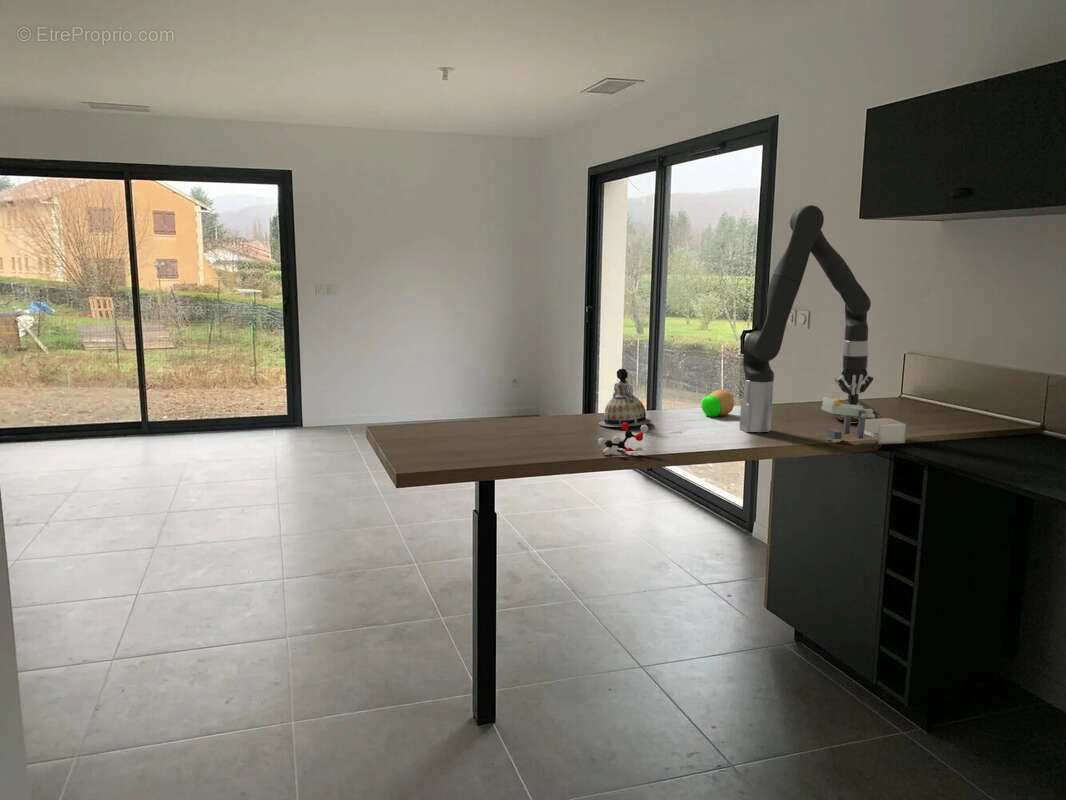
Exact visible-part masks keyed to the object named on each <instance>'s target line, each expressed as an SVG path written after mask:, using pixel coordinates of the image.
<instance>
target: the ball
mask: <svg viewBox="0 0 1066 800" xmlns="http://www.w3.org/2000/svg"><path fill="white" fill-rule="evenodd" d="M832 400H835V401H836V405H835V406H841V403H840V401H841V400H839V399H838V398H833V399H832Z"/></svg>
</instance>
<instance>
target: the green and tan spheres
mask: <svg viewBox="0 0 1066 800" xmlns="http://www.w3.org/2000/svg"><path fill="white" fill-rule="evenodd" d="M700 403H701V410H702V412H703V413H704V414H705V415H706V417H707V416H708V417H710V418H715V417H723V416H727V415H728V414H730V413H731V412H732V411H733V410H734V407H735V398H734V396H733V395H732V394H731V393H730V391H727V389H726V390H725V389H717V390H714V391H712V392H710V393H709V395H706V396H704V397H703V399H702V400H701V402H700Z"/></svg>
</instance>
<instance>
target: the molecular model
mask: <svg viewBox="0 0 1066 800" xmlns="http://www.w3.org/2000/svg"><path fill="white" fill-rule="evenodd" d="M629 427H630V426H629V425H628V423H626V422H624V423H622V425H621V429H622V430H623V431H625V433H624V439H623V440H621V438H620V437H619V436H617V435H615V436H613V438H612V440H611V439H608V440H606V439H605V438H604V437H600V438H598V441H597V443H598V445H599V446H606V447H605V448H604V449H603V451H602V453H603V452H610V451H611V448H612V447H613V446H614V447H615V449H616V448H623V450H625V452H626V451H643V452H644V449H643V448H642V447H637V448H636V449H633V448H631V447H626V444H625V443H626V442H627V441H628V439H631V438H634V439H635V440H636V441H637V442H641V441H643V439H644V436H643V435H644V434H645V433H647V432H648V431H649V426H647V425H646V424H642V425H640V432H639V433H637V434H633V432H632V431H631V430H629Z"/></svg>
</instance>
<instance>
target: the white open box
mask: <svg viewBox="0 0 1066 800" xmlns="http://www.w3.org/2000/svg"><path fill="white" fill-rule="evenodd" d="M907 427H908V424H907V423H904V422H901V421H898V420H895V419H892V418H890V417H889V418H885V417H884V418H883V417H882V418H879V419H865V429H864V434H866V435H869V436H872V437H875V438H877V440H878V444H877V445H886V444H887V445H889V444H905V443H906V437H907ZM874 433H878V435H876V434H874Z"/></svg>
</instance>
